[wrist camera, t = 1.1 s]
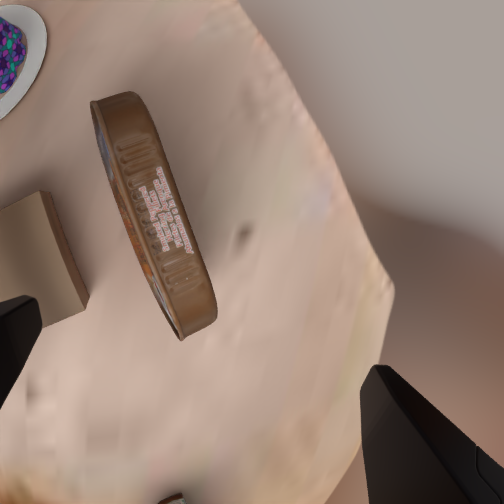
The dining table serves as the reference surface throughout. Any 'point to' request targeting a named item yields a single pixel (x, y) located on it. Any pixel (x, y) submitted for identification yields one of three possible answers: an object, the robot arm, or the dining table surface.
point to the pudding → (19, 52)
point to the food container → (174, 500)
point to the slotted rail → (39, 259)
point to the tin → (153, 212)
